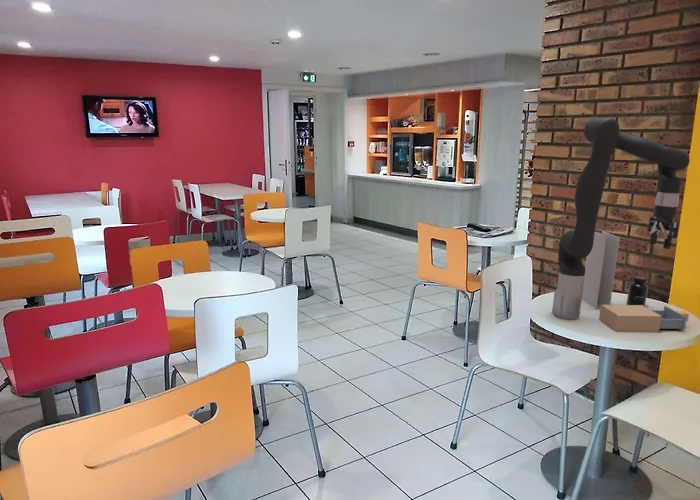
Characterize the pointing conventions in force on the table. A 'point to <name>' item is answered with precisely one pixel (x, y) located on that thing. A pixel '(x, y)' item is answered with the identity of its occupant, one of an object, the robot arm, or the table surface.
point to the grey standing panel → (600, 269)
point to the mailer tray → (672, 318)
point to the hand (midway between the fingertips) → (659, 246)
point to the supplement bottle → (637, 291)
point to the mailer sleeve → (630, 318)
